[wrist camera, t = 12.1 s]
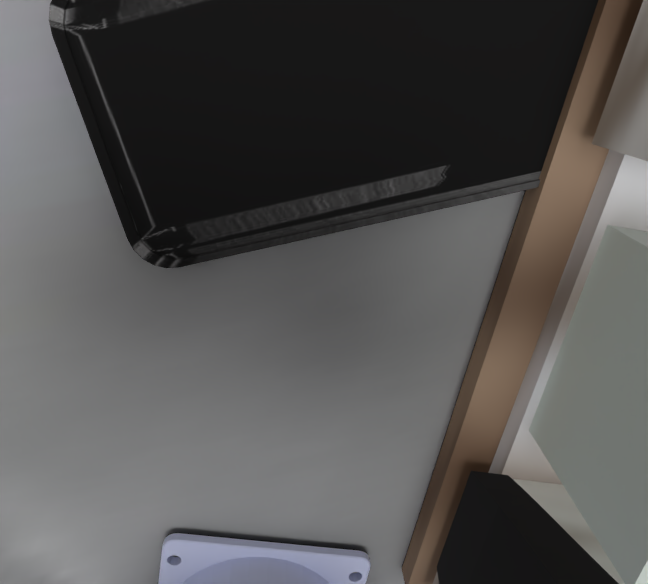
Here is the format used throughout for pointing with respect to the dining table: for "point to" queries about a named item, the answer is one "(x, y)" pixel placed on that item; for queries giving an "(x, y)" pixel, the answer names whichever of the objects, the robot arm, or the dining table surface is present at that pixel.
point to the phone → (311, 110)
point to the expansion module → (605, 403)
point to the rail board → (548, 285)
